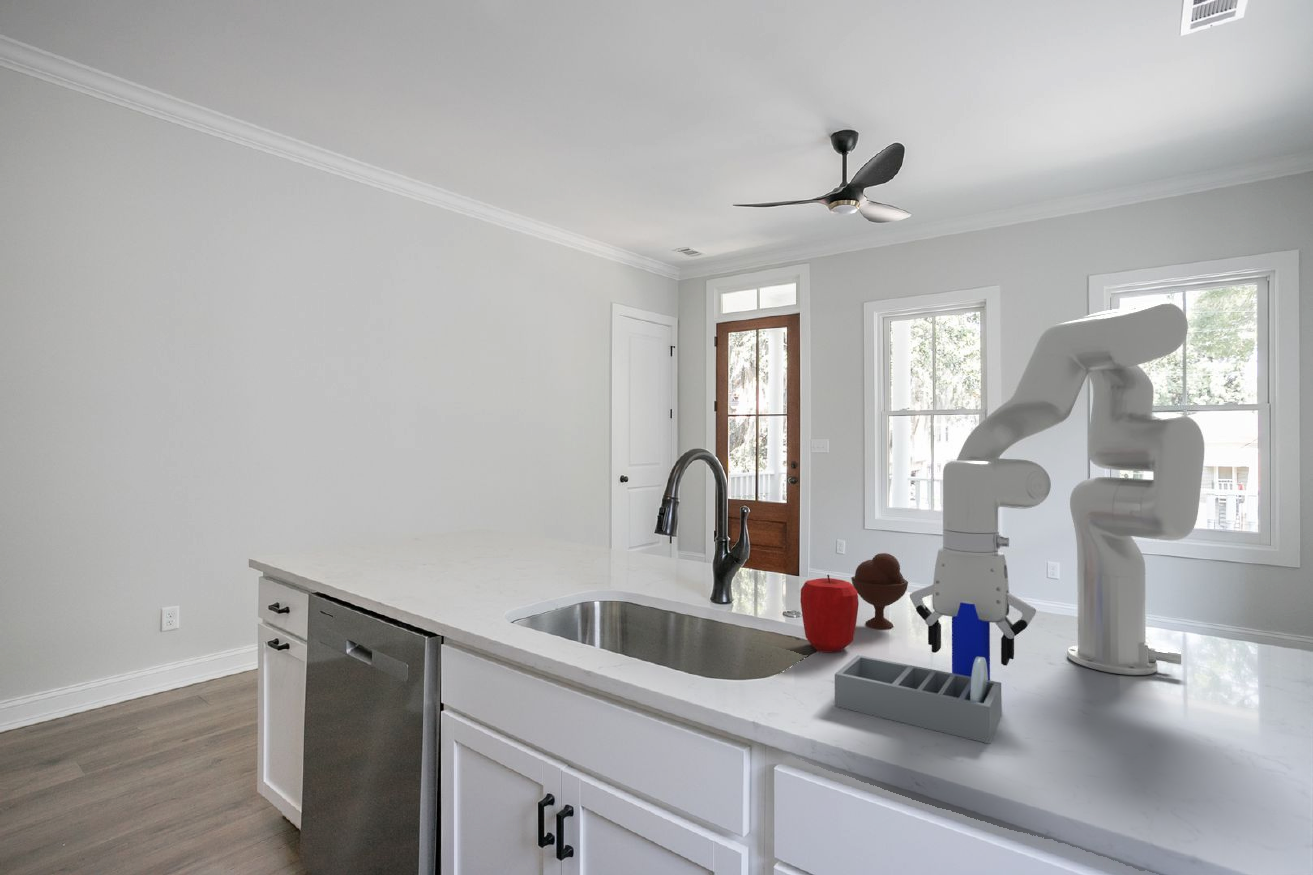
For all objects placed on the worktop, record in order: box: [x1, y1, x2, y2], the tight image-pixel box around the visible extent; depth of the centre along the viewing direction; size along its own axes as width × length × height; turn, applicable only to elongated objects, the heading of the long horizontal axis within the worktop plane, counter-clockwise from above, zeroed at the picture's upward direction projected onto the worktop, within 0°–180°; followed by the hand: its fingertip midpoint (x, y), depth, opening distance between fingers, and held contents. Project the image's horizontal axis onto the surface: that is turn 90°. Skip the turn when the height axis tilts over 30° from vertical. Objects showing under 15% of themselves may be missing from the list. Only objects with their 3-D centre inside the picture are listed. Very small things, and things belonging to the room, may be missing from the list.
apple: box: [799, 574, 859, 653], centre depth 119 cm, size 11×10×14 cm
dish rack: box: [834, 654, 1003, 745], centre depth 91 cm, size 20×10×5 cm, turn 54°
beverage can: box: [951, 600, 991, 681], centre depth 98 cm, size 5×5×15 cm
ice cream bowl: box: [850, 552, 909, 630], centre depth 133 cm, size 11×11×15 cm
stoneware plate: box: [970, 656, 988, 703], centre depth 87 cm, size 1×8×8 cm, turn 144°
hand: (969, 656), depth 98 cm, fingers open, 9 cm apart
